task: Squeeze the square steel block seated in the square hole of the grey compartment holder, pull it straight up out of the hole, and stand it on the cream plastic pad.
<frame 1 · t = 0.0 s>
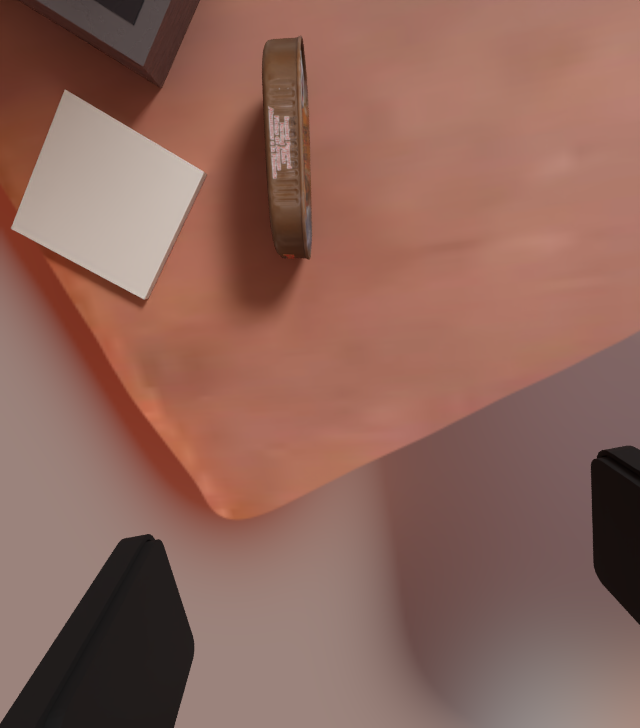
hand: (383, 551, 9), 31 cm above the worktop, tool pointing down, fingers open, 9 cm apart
tin: (291, 169, 36), on the worktop
pad: (112, 202, 36), on the worktop
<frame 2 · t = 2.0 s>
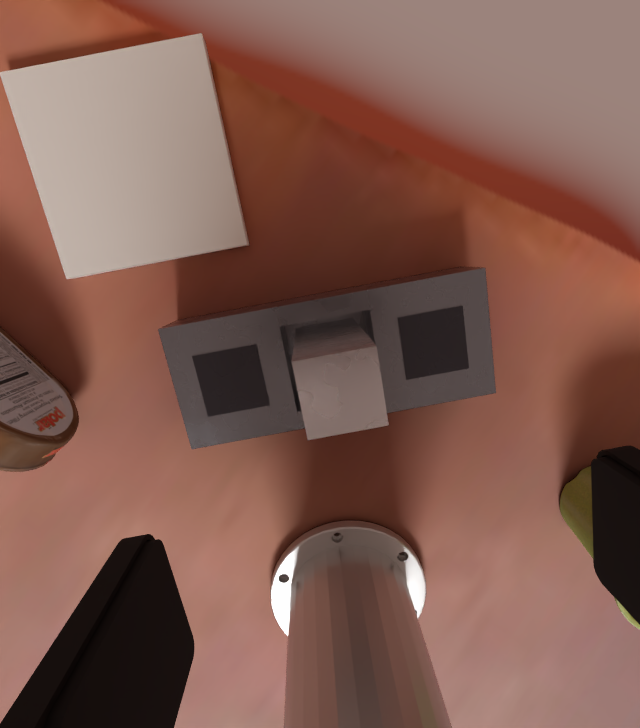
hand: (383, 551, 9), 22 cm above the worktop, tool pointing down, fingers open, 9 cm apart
tin: (11, 350, 30), on the worktop
pad: (136, 166, 27), on the worktop
plant pot: (594, 495, 34), on the worktop
steel block: (329, 350, 30), resting on grey compartment holder
grey compartment holder: (328, 349, 30), on the worktop
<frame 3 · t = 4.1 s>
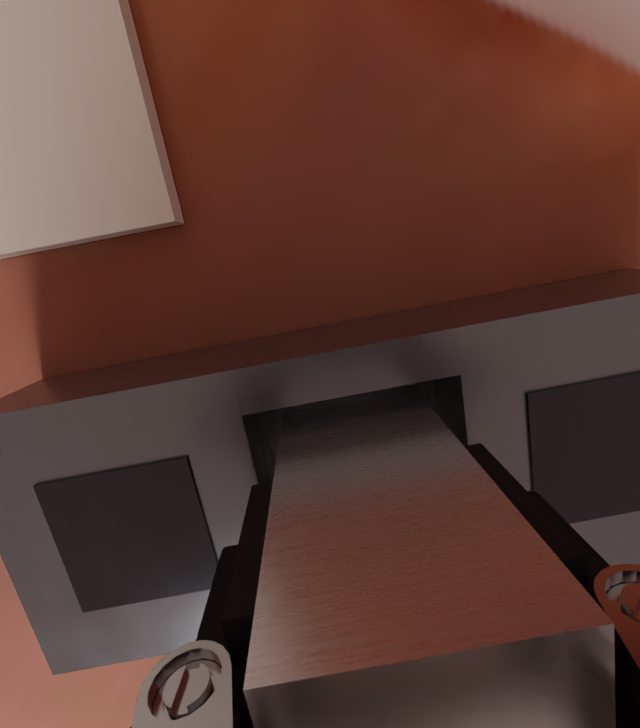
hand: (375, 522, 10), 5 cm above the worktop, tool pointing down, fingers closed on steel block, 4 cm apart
steel block: (353, 438, 15), point 1 cm above the worktop, touching gripper, grey compartment holder
grey compartment holder: (351, 433, 15), on the worktop
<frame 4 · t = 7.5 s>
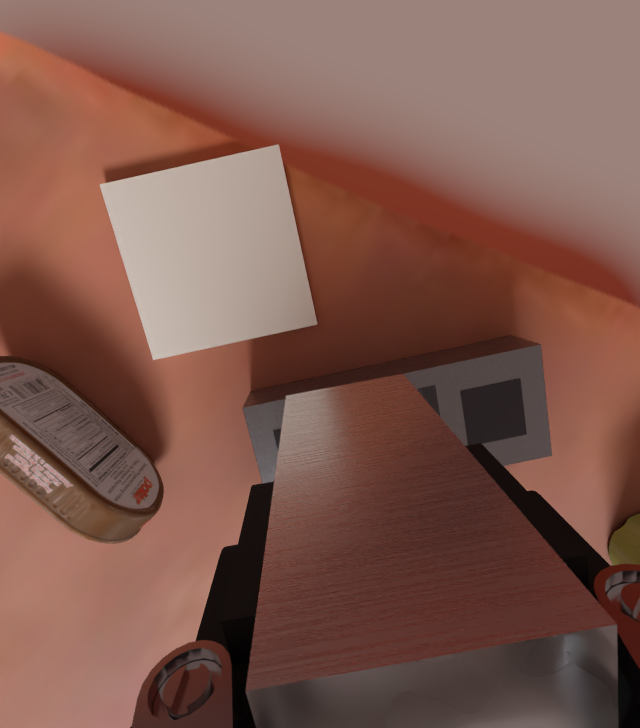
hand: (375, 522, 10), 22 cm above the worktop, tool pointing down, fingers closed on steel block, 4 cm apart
tin: (98, 422, 32), on the worktop
pad: (216, 257, 30), on the worktop
steel block: (354, 438, 15), point 17 cm above the worktop, touching gripper
grey compartment holder: (389, 413, 33), on the worktop
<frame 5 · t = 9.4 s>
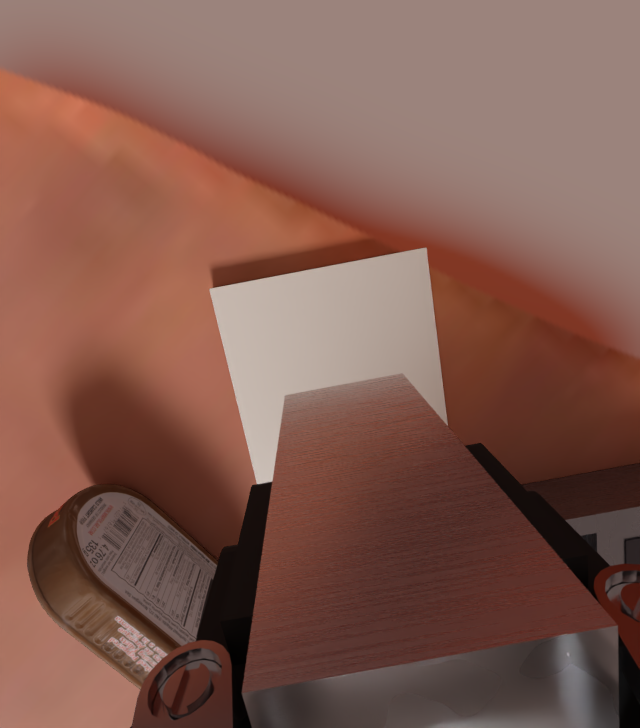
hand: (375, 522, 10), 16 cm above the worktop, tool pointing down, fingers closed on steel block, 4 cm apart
tin: (184, 543, 28), on the worktop
pad: (335, 368, 25), on the worktop
steel block: (353, 438, 15), point 11 cm above the worktop, touching gripper
grey compartment holder: (517, 539, 28), on the worktop
when the fingers open (7 cm above the worktop, at t = 11.2 s): steel block drops 1 cm, resting on pad.
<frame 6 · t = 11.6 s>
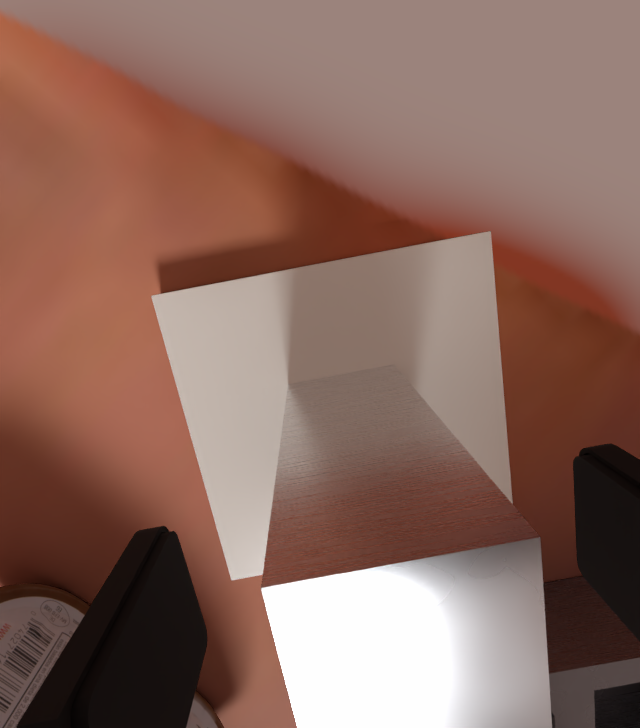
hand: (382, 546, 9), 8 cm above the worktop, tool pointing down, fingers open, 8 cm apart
tin: (131, 652, 20), on the worktop
pad: (346, 413, 17), on the worktop
steel block: (349, 423, 16), point 1 cm above the worktop, touching pad
grey compartment holder: (597, 642, 20), on the worktop
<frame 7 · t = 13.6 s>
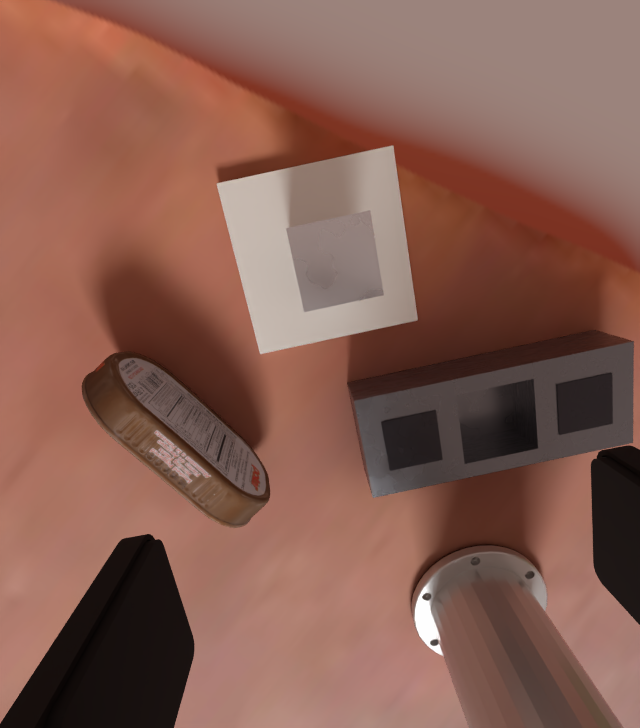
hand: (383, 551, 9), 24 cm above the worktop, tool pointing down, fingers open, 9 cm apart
tin: (200, 412, 34), on the worktop
pad: (322, 255, 31), on the worktop
steel block: (323, 256, 30), point 1 cm above the worktop, touching pad
grey compartment holder: (475, 402, 35), on the worktop
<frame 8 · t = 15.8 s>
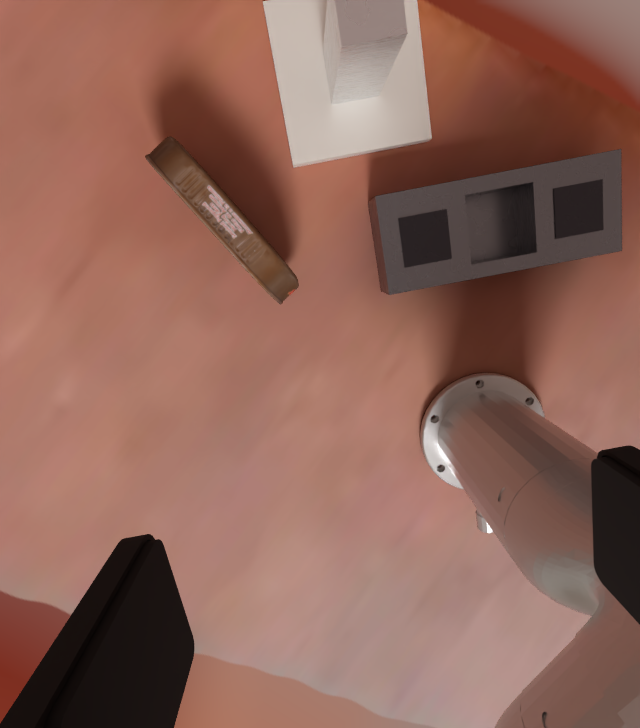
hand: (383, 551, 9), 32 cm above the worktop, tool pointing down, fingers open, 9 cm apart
tin: (237, 228, 38), on the worktop
pad: (349, 77, 35), on the worktop
steel block: (351, 73, 34), point 1 cm above the worktop, touching pad
grey compartment holder: (481, 227, 39), on the worktop
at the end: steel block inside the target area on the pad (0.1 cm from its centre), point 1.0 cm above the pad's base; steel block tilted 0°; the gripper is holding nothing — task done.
